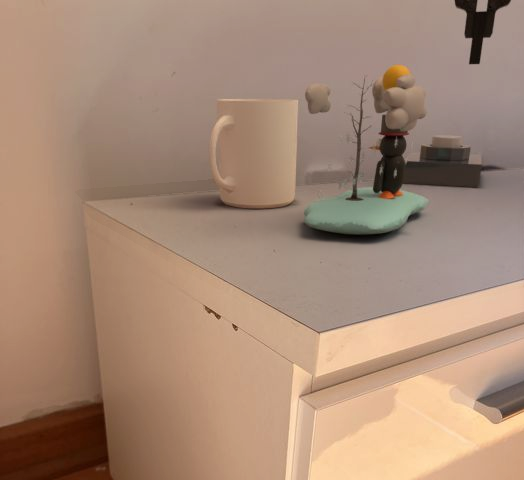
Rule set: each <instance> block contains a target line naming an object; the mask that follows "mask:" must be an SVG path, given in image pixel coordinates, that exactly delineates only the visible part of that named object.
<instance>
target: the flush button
mask: <svg viewBox="0 0 524 480" xmlns="http://www.w3.org/2000/svg"><path fill="white" fill-rule="evenodd" d="M430 143H431V146H436V147H461V145H462V143H463V136H460V135H447V134H446V135H445V134H441V135H440V134H439V135H437V134H436V135H432V138H431V142H430Z"/></svg>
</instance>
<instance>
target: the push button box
mask: <svg viewBox="0 0 524 480" xmlns="http://www.w3.org/2000/svg"><path fill="white" fill-rule="evenodd" d="M431 143H432V142H430V143H422V144H420V151H419V152H418V151H417V152H416V151H412V152H411V153H410V154H409V155H408V156H406V157H405V159H406V160H407V163H406V165H405V172H404V181H403V184H411V185H412V184H413V185H414V184H415V185H429V186H448V187H464V188H479V185H480V180H481V179H480V178H481V174H482V169H483V168H482V167H483V159H482V154H471V148H472V146H471V145H468V144H461V147H436V146H431ZM405 159H404V161H406V160H405Z"/></svg>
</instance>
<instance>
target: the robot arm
mask: <svg viewBox="0 0 524 480" xmlns="http://www.w3.org/2000/svg"><path fill="white" fill-rule="evenodd" d="M511 1H512V0H487V4H486V10H484V11H483V10H481V11H477V8H478V7H477V6H478V2H479V1H478V0H454V6H455V8H456V9H460V10H462V11H464V12H465V13H466V17H465V26H464V38H465V39H471V45H470V53H469V58H468V59H469V60H468V65H480V63H481V57H482V50H483V42H484V39H488V38H489V39H490V38H491V37H492V35H493V33H494V27H495V19H496V18H495V17H496V13H497V11H499V10H500V9H503V8H506V7H507V6H509V5H510V3H511Z"/></svg>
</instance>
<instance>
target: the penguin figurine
mask: <svg viewBox="0 0 524 480" xmlns="http://www.w3.org/2000/svg"><path fill="white" fill-rule="evenodd" d="M367 77H368V75H365V77H364V78H363V84H362V85H363V87H361V86H360V84H358V83H357V84H356V83H354V82H350V83H353V85H356V86H357V87H358V88H359V89H362V91H361V94H360V96H361V97H360V107H358V108H356V107H355V106H353V105H348V107H352V108H355V109H356V111H359V112H360V113H359V122H358V121H357V120H355V118H354V116H353V114H352V113H350V114H349V113H347V114H348V115H350V116H351V120H352V127H353V129H354V133H355V135H356V142H355V141H354V139H353V138H351V134H350V133H349V131H348V132H347V134H346V135H345V136H346V139H345V141H346V143H347V144H349V141H351V143H352V144H356V159H355V170H354V174H353V172H352V171H347V172H348V173H350V174H351V175H352V177H353V178H352V183H351V185H352V188H351V189H349V190H346V191H344V192H343V193H341V194H340V195H338V196H337V195H336V196H330V197H326V198H325V197H324V198H321V199H320V197H322V191H323V190H321V189H320V190H318V194H317V195H318V196H317V197H318V198H319V199H318V200H315V201H313V202H311V203H310V204H309V205H307V207H306V208H305V209H304V212H303V214H304V217H305V218H304V219H303V221H304V224H305V225H307V226H308V227H309V228H312V229H316V230H319V231H324V232H328V233H329V232H330V233H334V234H335V233H336V234H343V235H355V236H356V235H357V236H358V235H359V236H365V235H366V236H367V235H368V236H369V235H378V234H385V233H389V232H393V231H396V230H398V229H400V228H401V227H403V226H404V225H405V224H406V223H407V221H408V218H409V217H410V216H411V215H414V214H417V213H420V212H421V211H423V210H425V209H426V207H427V206H428V204H429V199H427V197H424V196H422V195H420V194H417V193H414V192H411V191H407V190H403V189H401V188H402V187H403V184H404V183H403V181H404V172H405V165H406V163H407V160H406V158H404V156H403V155H404V153H405V151H406V149H407V139H406V138H405V136H408V135H410V132H408V131H411V130H413V129H414V128H415V127H416V126H417V123H418V120H423V119H424V118H425V117H426V116H427V113H428V112H427V108H426V106H425V98H426V96H427V95H426V90H425V89H424V87H422V86H419V85H415V83H416V77H415V76H414V75H412V74H411V72H410V70H409V68H407V67H406V66H405V65H402V64H393V65H392V66H389V67H388V69H386V70H385V72H384V74H383V76H380V77H378V78H377V79H376V80H374V83H373V82H371V84H370V85H369V86H367V88H366V90H365V92H364V89H365V84H366V83H365V82H366V78H367ZM373 79H375V77H374V78H373ZM372 83H373V84H372ZM371 86H372V90H371V94H372V97H373V108H374V111H375V113H376V114H381V124H380V132H378V135H380V136H383V137H382V138H378V139H376V141H375V142H374V143H373V144H374V145H372V146H370V147H369V149H371V152H372V154H373V155H374V153H375V152H376V150H377V151H379V152H380V154H381V155H382V157H380V160H378V161H377V163H376V168H375V173H374V180H373V185H372V186H368V187H367V186H366V187H365V186H364V187H358V180H360V183H361V185H362V183H364V180H363V179H361V178H364V175H365V173H364V170H362V172H360V165H361V164H362V163H363V161H361V158H365V154H366V153H365V152H364V151H363V153H362V156H361V151H362V134H363V133H364V132H365V131H367V130H368V129H370V128H371V126H369V127H367V128H365V129H363V130H362V125H363V124H362V123H363V120H364V119H365V117H363V116H364V115H363V114H364V109H363V102H366V101H367V99H365V100H364V99H363V96H364V95H365V93H366V92H367V91H368V89H369V88H370V87H371ZM330 95H331V87H330V86H329V85H327V84H320V83H313V84H311V85H309V86H308V87H307V88H306V90H305V92H304V98H305V101H306V102H307V109H308V112H309V114H311V115H316V114H319V113H324V114H325V113H328V112H330V110H331V100H330V98H329V96H330ZM359 108H360V109H359ZM343 113H344V114H346V112H344V111H343ZM384 113H385V114H384ZM371 117H373V114H372V115H369V116H366V119H367V118H371ZM355 122H356V124H355ZM356 125H358V130H357V129H356ZM338 139H339V140H338V142H339V144H342V143H343V136H341V135H339V136H338ZM410 145H411V146H410V148H411V149H410V150H411V151H412V150H413V148H414V141H413V140H412V141H411V143H410ZM364 150H366V148H365V147H364ZM352 156H353V155H352V154H351V155H350V157H349V164H350V166H351V165H352V163H353V161H354V157H352ZM404 160H406V161H404ZM360 161H361V162H360ZM327 166H328V167H327V168H328V171H330V170H332V163H331V162H329V163H328V165H327ZM343 182H344V184H343ZM343 182H342V181H341V179H340V180H339V182H338V186H337V187H338V190H340V189H341V187H342V184H343V187H346V186H347V184H348V183H347V182H348V179H344V180H343Z"/></svg>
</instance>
